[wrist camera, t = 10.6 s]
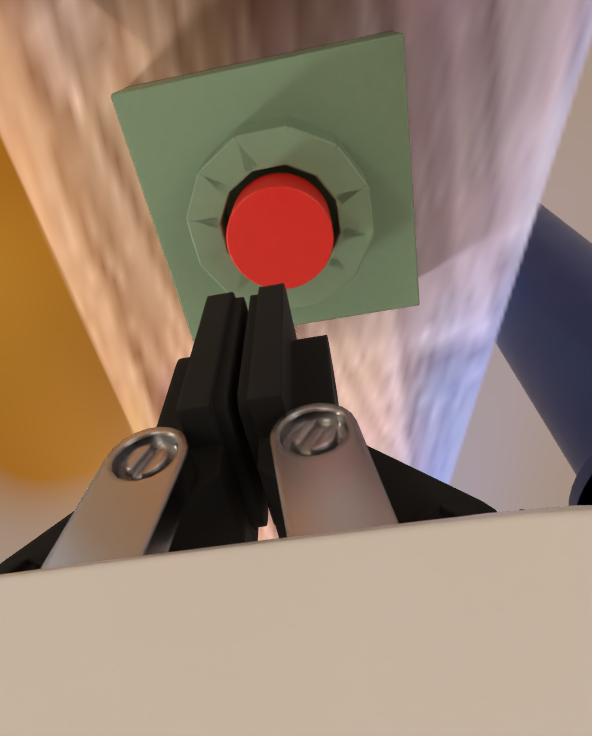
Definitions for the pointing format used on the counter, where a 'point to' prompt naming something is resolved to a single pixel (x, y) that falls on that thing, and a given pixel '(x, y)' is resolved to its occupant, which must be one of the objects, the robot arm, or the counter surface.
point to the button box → (283, 169)
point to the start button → (280, 231)
